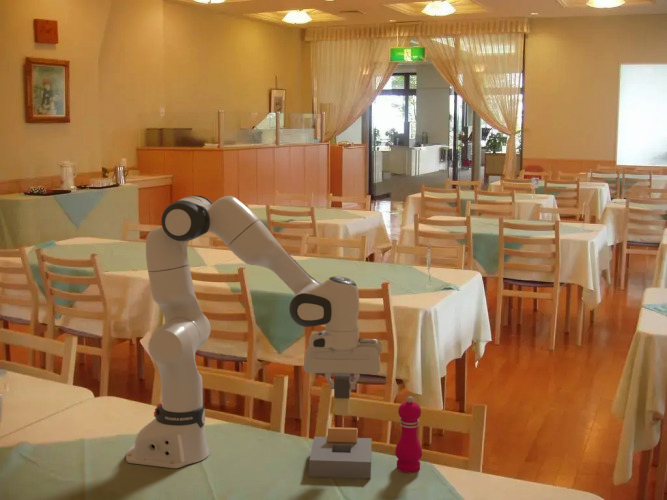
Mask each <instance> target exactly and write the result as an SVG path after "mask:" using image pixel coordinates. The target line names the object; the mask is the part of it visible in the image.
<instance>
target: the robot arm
mask: <svg viewBox="0 0 667 500" xmlns="http://www.w3.org/2000/svg"><path fill="white" fill-rule="evenodd" d="M207 233H212V234H214V235H215V236H217V238H219V239H220V240H221V241H222V243H224V244H225V245H226V247H227V248H228V249H229V250H230V251H231V252H232V253H233V255H235V256H236V257H237V258H238V259H239V260H241V261H242V262H244V263H245V264H247V265H250V266H258V267H262V268H266V269H267V270H270V271H271V272H273V274H275V275H276V276H277V277H278V278H279V279H280V280H281V281H282V282H283V283H284V284H285V285H286V286H287V287H288V288H289V289H290V290H291V291H292V293H293V294H294V296H293V298H292V300H291V301H290V303H289V310H288V311H289V315H290V318H291V319H292V321H294V322H295V323H296V324H297V325H298V326H301V327H303V328H304V327H305V328H310V327H317V326H318V327H319V326H325V330H320V331H317V332H314V333H312V334H311V335H310V336H309V338H308V346H307V349H306V351H305V356H304V363H303V369H304V371H305V373H307V374H324V377H325V379H326V381H327V382H328V385H329V386H328V388H329V389H328V390H334V380H332V378H331V374H335V373H336V374H350V375H353V377H354V379H353V380H352V381H350V391H351V390H354V391H355V390H356V384H357V383H358V381H359V379H360V376H361V375H378V374H379V373H380V372H381V358H380V357H381V356H380V355H381V354H382V352H383V345H382V344H383V343H382V342H381V341H380V340H377V339H375V338H360V325H359V314H360V294H359V288H358V284H356V282H355V281H354V280H352V279H350V278H348V277H344V276H331V277H329V278H327V279H326V280H324V281H321V280H319V279H317V278H315V277H312V276H311V275H310V274H309V273H308V272H307V271H306V270H305V269H304V268H303V267H302V266H301V265H300V264H299V263H298V262H297V261H296V260H295V259H294V258H293V256H291V255H290V254H289V253H288V252H287V251H286V250H285V249H284V248H283V246H282V244H280V242H278V240H277V239H276V238H275V236H274V235H273V233H271V231H270V230H269V229H268V228H267V226H265V224H264V223H263V222H262V220H261V219H260V218H259V217H258V216H257V215H256V214H255V213H254V212H253V211H252V210H251V209H250V208H249V207H248V206H246V205H245V204H244V203H243V202H242V201H241V200H239V199H238V198H237V197H235V196H233V195H225V196H222V197H220V198H218V199H217V200H215V201H214V202H213V201H212V200H210V199H209V198H207V197H205V196H203V195H202V196H201V195H191V196H185V197H181V198H180V199H178V200H176V201H173V202H172V203H170V204H169V205H168V206H167V207H166V208H165V209H164V211H163V212H162V216H161V226H158V227H155V228H153V229H151V230H150V231H149V232H148V234H147V235H146V237H145V259H146V267H147V274H148V278H149V284H150V290H151V295H152V299H153V302H155V303H156V304H157V305H158V306H159V309H160V311H161V312H162V315H163V317H164V321H165V322H164V323H163V324H161V325H160V326H159V327H157V328H156V329H155V331H154V332H153V334H152V335H151V337H150V339H149V341H148V352H149V356H151V358H152V359H153V361H154V362H155V363H156V365H157V369H158V373H159V377H160V385H161V387H160V389H161V401H158V403H157V405H156V407H155V408H154V411H153V417H154V419H153V420H152V421H150V422H149V423H147V424H146V425H144V426H143V427H142V428H141V429H140V430H139V431H138V433H137V434H136V437H135V441H134V444H132V445H131V446H130V448H129V449H127V452H126V456H125V460H126V462H127V463H129V464H137V465H143V466H151V467H152V466H153V467H162V468H169V469H179V468H182V467H184V466H186V465H191V464H195V463H198V462H201V461H203V460H205V459H207V458H208V456H209V455H210V453H211V452H210V448H209V446H208V443H207V437H206V430H205V423H206V409H205V403H204V401H203V397H204V396H203V395H204V393H203V377H202V375H201V373H199V371H198V367H197V362H196V352H197V351H198V350H200V349H201V348H202V347H203V346H204V345H206V343H207V341H208V340H209V337H210V335H211V331H212V327H211V323H210V321H209V319H208V317H207V316H206V315H205V314H204V312H203V310H202V308H201V306H200V303H199V300H198V299H197V295H196V291H195V288H194V283H193V278H192V272H191V271H192V270H191V266H190V259H189V256H188V245H189V242H190V241H193V240H195V239H196V240H197V239H198V238H201V237H202V236H204V235H205V234H207Z"/></svg>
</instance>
